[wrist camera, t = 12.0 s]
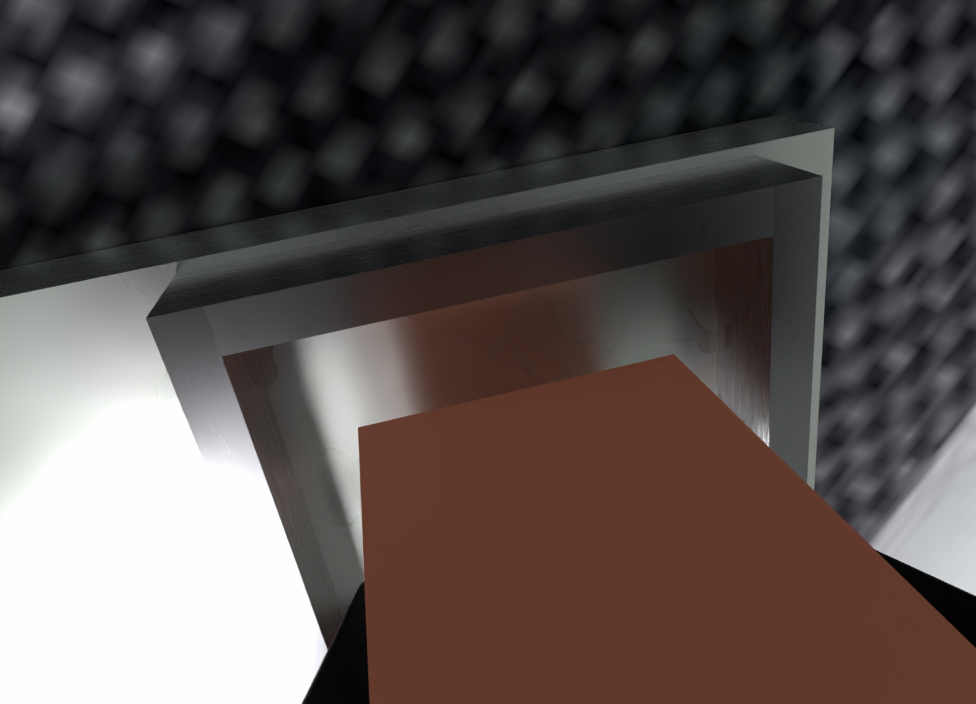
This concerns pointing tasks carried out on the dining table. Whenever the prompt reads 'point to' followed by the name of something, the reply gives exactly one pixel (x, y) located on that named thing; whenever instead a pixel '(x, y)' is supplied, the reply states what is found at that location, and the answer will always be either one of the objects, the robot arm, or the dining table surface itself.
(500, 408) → the orange-red rectangular block
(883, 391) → the dining table surface
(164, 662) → the panel
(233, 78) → the dining table surface
